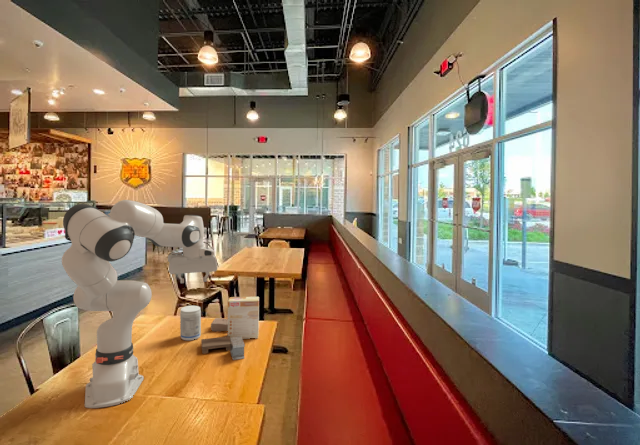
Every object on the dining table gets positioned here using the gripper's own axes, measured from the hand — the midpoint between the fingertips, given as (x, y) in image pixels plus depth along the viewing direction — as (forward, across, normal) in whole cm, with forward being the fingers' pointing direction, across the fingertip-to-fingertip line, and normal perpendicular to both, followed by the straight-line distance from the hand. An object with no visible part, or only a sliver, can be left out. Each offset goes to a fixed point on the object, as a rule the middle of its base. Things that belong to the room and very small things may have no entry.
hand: (193, 282), depth 156 cm
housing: (+32, +18, -9) cm, 38 cm away
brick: (+33, +18, +23) cm, 44 cm away
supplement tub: (+33, -1, +17) cm, 37 cm away
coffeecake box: (+33, +24, +10) cm, 42 cm away
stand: (+32, +10, +1) cm, 34 cm away
